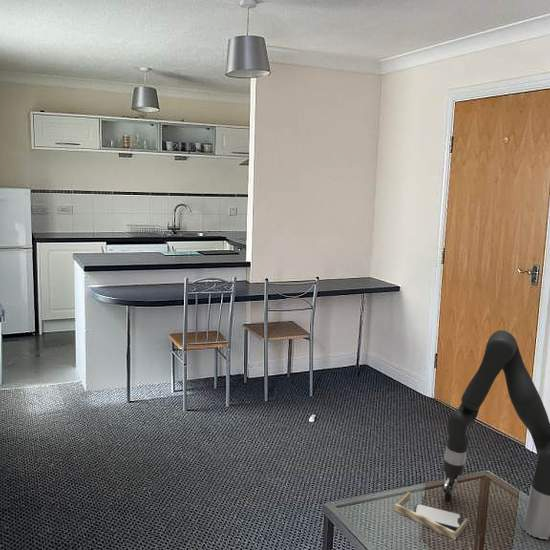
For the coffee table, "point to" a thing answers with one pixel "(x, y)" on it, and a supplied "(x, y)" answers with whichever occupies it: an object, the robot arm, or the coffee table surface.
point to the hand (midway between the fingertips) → (447, 500)
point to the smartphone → (440, 516)
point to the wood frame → (426, 521)
